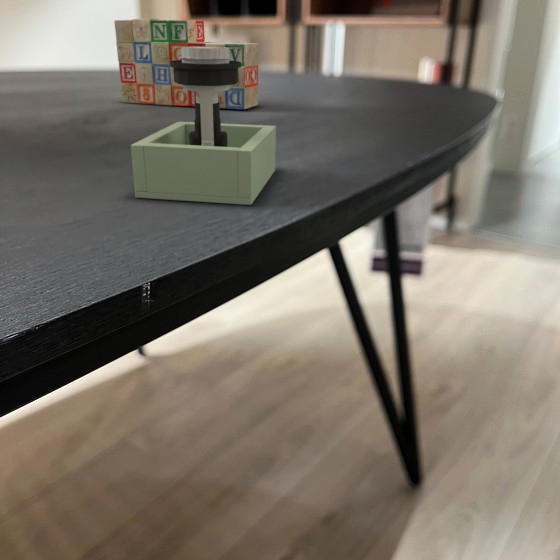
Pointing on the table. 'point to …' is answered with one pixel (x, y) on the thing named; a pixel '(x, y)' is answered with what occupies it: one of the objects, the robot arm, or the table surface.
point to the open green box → (204, 164)
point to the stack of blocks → (167, 47)
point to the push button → (206, 89)
